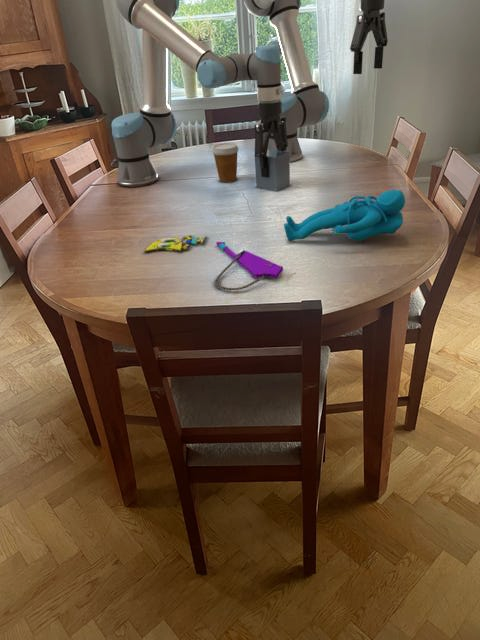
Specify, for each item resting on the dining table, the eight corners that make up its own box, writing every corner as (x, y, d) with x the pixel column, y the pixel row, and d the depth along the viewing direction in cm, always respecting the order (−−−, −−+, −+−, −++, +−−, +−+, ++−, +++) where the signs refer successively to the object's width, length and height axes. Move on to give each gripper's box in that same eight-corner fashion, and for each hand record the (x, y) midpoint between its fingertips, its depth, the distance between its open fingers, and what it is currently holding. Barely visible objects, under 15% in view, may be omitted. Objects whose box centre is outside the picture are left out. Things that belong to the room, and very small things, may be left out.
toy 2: (287, 204, 132) (400, 176, 122) (297, 239, 137) (406, 215, 127) (278, 228, 119) (405, 199, 108) (290, 266, 124) (412, 242, 113)
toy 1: (199, 248, 125) (143, 249, 127) (199, 251, 125) (144, 252, 127) (206, 233, 133) (154, 234, 135) (206, 236, 133) (154, 237, 136)
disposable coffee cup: (210, 183, 175) (207, 149, 168) (221, 175, 182) (218, 142, 175) (235, 184, 171) (232, 149, 165) (244, 176, 178) (242, 142, 172)
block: (276, 191, 161) (275, 157, 155) (256, 187, 167) (254, 154, 161) (290, 185, 166) (289, 152, 160) (269, 181, 171) (268, 149, 165)
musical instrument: (257, 302, 103) (298, 254, 115) (255, 294, 102) (297, 246, 114) (172, 286, 116) (218, 244, 128) (170, 279, 114) (216, 237, 127)
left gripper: (258, 107, 143) (262, 183, 156) (298, 96, 155) (299, 167, 168) (239, 106, 148) (244, 180, 160) (280, 95, 160) (282, 164, 172)
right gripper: (362, -4, 141) (358, 76, 153) (402, -7, 156) (395, 66, 168) (340, -2, 146) (338, 76, 157) (381, -5, 161) (376, 66, 172)
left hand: (272, 173), depth 164 cm, fingers closed on block, 7 cm apart
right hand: (367, 71), depth 162 cm, fingers open, 13 cm apart
